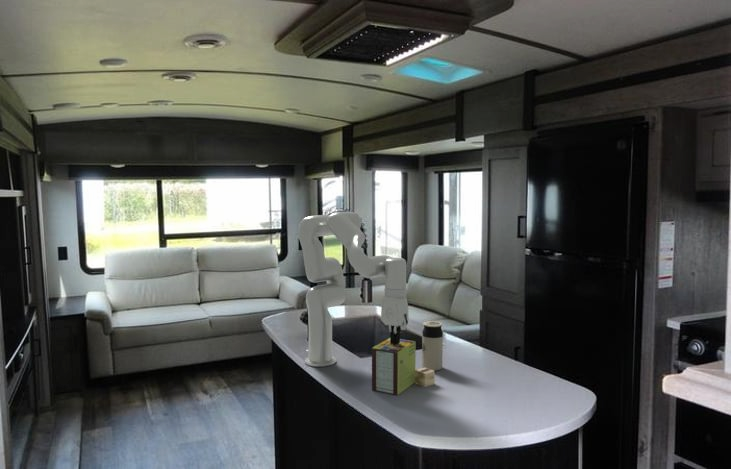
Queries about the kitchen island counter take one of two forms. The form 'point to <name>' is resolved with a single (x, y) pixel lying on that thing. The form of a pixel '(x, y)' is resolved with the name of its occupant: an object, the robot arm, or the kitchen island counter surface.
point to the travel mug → (432, 345)
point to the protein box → (393, 366)
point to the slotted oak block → (424, 377)
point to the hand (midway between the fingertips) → (395, 343)
